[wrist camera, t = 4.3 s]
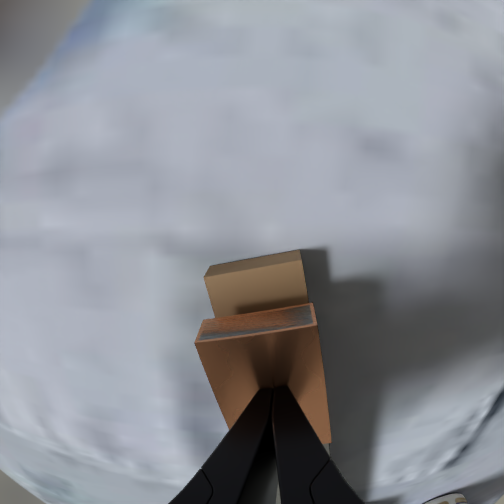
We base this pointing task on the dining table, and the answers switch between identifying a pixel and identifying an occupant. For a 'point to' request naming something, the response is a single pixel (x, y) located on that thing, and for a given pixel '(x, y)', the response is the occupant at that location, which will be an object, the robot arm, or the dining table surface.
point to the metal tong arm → (266, 362)
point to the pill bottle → (449, 499)
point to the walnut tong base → (257, 284)
